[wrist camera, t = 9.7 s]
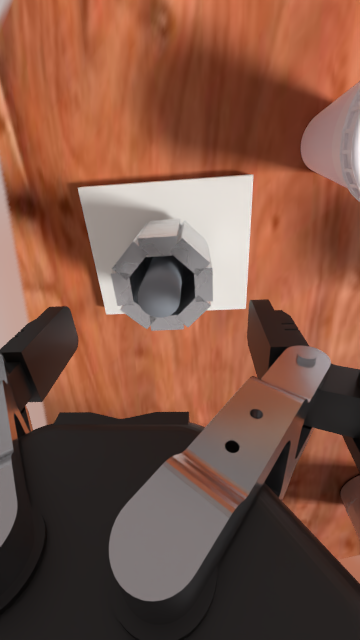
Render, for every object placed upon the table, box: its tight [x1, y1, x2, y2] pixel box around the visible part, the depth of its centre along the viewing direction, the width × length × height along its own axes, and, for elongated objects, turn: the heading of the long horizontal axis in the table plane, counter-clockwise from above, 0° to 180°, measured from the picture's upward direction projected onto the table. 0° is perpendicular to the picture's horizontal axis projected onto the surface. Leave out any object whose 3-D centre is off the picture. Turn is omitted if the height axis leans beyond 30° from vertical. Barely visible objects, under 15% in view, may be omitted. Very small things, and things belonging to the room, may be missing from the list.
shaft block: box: [78, 174, 253, 318], centre depth 18 cm, size 12×10×9 cm
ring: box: [111, 219, 213, 331], centre depth 18 cm, size 6×6×5 cm
